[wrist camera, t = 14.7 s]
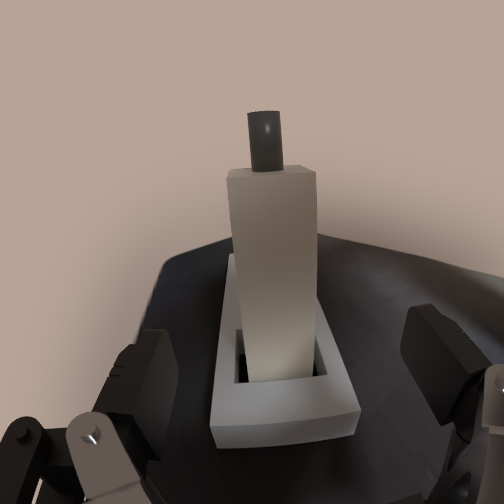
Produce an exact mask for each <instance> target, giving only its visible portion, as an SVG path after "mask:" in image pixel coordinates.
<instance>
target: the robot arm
mask: <svg viewBox="0 0 504 504" xmlns="http://www.w3.org/2000/svg"><path fill="white" fill-rule="evenodd" d="M400 351H401V356H402V359H403V361H404V362H405V364H406V366H407V367H408V369H409V371H410V372H411V374H412V376H413V378H414V379H415V381H416V383H417V385H418V386H419V388H420V390H421V392H422V393H423V395H424V397H425V399H426V400H427V402H428V404H429V406H430V408H431V410H432V411H433V413H434V415H435V417H436V419H437V421H438V423H439V424H440V426H443V425H446V424H448V423H451V422H453V423H454V424H455V427H454V428H453V430H452V433H451V438H450V442H449V446H448V450H447V454H446V458H445V461H444V465H443V468H442V471H441V475H440V477H439V480H438V482H437V483H436V485H435V487H434V488H433V490H432V491H431V493H430V495H429V497H428V499H427V500H423V497H422V494H421V492H420V493H418V494H415V495H412V496H410V497H407V498H404V499H401V500H398V501H395V502H392V503H389V504H504V364H495V365H492V364H491V362H490V361H489V360H488V359H487V358H486V356H485V355H484V354H483V353H482V352H481V350H480V349H479V348H478V347H477V346H476V345H475V343H474V342H473V341H472V340H470V339H469V337H468V336H467V334H466V333H465V332H464V333H463V330H462V329H461V328H460V327H459V326H458V324H457V323H456V322H455V321H453V320H451V319H450V318H448V317H446V316H444V315H442V314H441V313H440V312H439V311H438V310H437V309H436V308H435V307H434V306H433V305H432V304H423V305H418V306H412V307H410V308H409V310H408V313H407V317H406V322H405V326H404V331H403V335H402V339H401V343H400ZM178 380H179V369H178V364H177V360H176V357H175V354H174V350H173V347H172V343H171V340H170V336H169V333H168V331H167V330H166V329H144V330H143V331H142V332H141V334H140V336H139V338H138V341H137V343H136V344H129V345H128V346H127V347H126V348H125V349H124V350H123V351H122V352H121V353H120V354H119V355H118V357H117V359H116V361H115V363H114V368H112V369H111V371H110V373H109V377H107V380H106V382H105V384H104V386H103V388H102V390H101V392H100V394H99V396H98V398H97V401H96V403H95V405H94V407H93V410H92V411H91V412H86V413H83V414H81V415H79V416H77V417H76V418H75V419H73V420H72V421H71V422H70V424H69V425H68V427H67V428H54V429H44V428H43V427H42V425H41V424H40V423H39V422H38V421H37V420H36V419H35V418H33V417H27V416H25V417H21V418H18V419H16V420H15V421H13V422H12V423H11V424H10V426H9V427H8V428H7V430H6V432H5V434H4V436H3V438H2V440H1V442H0V504H31V503H32V500H33V497H34V494H35V490H36V488H37V485H38V482H39V479H40V478H41V479H42V480H43V481H42V484H41V488H40V491H39V494H38V497H37V500H36V503H35V504H168V503H167V502H166V500H165V499H164V497H163V496H162V494H161V493H160V491H159V490H158V488H157V487H156V485H155V483H154V482H153V480H152V479H151V477H150V475H149V474H148V472H147V471H146V467H147V463H148V460H155V461H161V456H162V452H163V447H164V442H165V438H166V433H167V429H168V424H169V420H170V415H171V411H172V406H173V402H174V398H175V394H176V389H177V385H178ZM85 496H86V501H84V497H85Z"/></svg>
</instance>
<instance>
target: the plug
mask: <svg viewBox="0 0 504 504" xmlns="http://www.w3.org/2000/svg"><path fill="white" fill-rule="evenodd" d="M247 115H248V127H249V138H250V152H251V165H252V168H244V169H232V170H230V171H229V173H228V176H227V189H228V200H229V210H230V220H231V229H232V239H233V249H234V258H235V268H236V277H237V286H238V295H239V303H240V312H241V321H242V329H243V338H244V346H245V354H246V362H247V370H248V378H249V383H253V382H267V381H279V380H289V379H298V378H307V377H312V376H313V361H314V344H315V324H316V295H317V198H316V197H317V195H316V172H314V171H311V170H309V169H307V168H305V167H303V166H300V165H287V166H283V152H282V138H281V124H280V112H279V111H259V112H252V113H248V114H247Z"/></svg>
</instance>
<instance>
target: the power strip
mask: <svg viewBox="0 0 504 504" xmlns="http://www.w3.org/2000/svg"><path fill="white" fill-rule="evenodd" d="M239 354H245V346H244V338H243V329H242V321H241V312H240V303H239V295H238V286H237V277H236V268H235V258H234V254H230V255H229V263H228V270H227V278H226V286H225V294H224V302H223V310H222V318H221V326H220V335H219V343H218V352H217V361H216V370H215V379H214V388H213V398H212V407H211V417H210V429H211V432H212V435H213V438H214V441H215V443H216V446H217V448H254V447H269V446H281V445H291V444H300V443H307V442H314V441H321V440H327V439H333V438H339V437H344V436H349V435H354V432H355V429H356V426H357V423H358V420H359V416H360V413H361V409H360V406H359V403H358V400H357V398H356V395H355V392H354V390H353V387H352V384H351V382H350V379H349V376H348V374H347V371H346V368H345V366H344V363H343V361H342V358H341V356H340V353H339V350H338V348H337V345H336V343H335V340H334V338H333V335H332V333H331V330H330V328H329V325H328V323H327V320H326V318H325V315H324V313H323V311H322V308H321V306H320V303H319V301H318V298H317V296H316V324H315V344H314V363H315V367H316V371H317V374H318V376H315V377H307V378H298V379H289V380H279V381H267V382H253V383H239Z"/></svg>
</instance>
